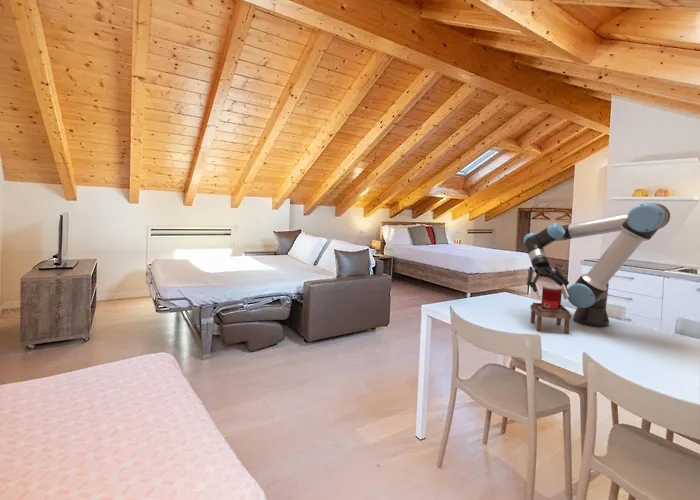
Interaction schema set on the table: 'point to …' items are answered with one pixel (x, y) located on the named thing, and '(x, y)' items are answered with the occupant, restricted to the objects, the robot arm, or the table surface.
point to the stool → (550, 316)
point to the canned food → (551, 297)
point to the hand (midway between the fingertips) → (553, 297)
